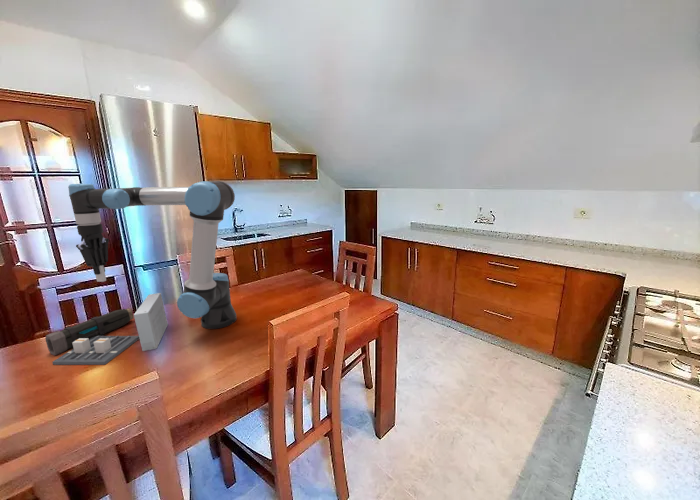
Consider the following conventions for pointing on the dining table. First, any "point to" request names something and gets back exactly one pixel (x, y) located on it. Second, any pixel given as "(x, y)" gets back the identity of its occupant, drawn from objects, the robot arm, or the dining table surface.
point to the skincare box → (151, 321)
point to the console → (97, 358)
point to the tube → (87, 330)
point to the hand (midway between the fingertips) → (101, 281)
